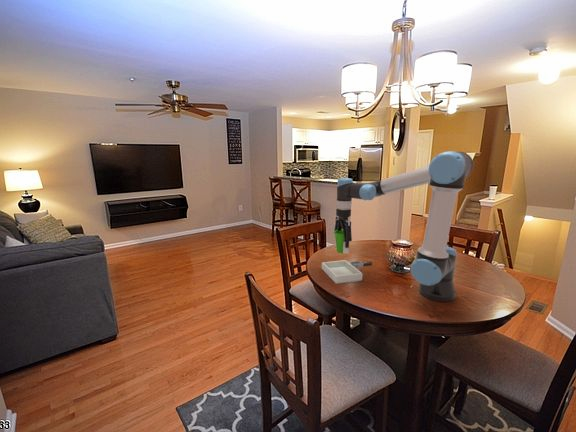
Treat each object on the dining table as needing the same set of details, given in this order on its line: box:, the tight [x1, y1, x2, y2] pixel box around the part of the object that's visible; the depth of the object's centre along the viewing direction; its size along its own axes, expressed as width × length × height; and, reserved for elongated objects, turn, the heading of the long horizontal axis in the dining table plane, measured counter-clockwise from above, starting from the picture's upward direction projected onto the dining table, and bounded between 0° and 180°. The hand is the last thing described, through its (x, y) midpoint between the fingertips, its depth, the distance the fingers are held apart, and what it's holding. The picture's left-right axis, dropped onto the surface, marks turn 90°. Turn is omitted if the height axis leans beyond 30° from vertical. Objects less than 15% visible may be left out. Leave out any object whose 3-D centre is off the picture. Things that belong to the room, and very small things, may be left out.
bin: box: [321, 259, 364, 285], centre depth 153 cm, size 20×15×4 cm
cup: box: [333, 229, 344, 254], centre depth 150 cm, size 9×9×11 cm
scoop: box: [349, 260, 373, 269], centre depth 166 cm, size 12×5×2 cm, turn 105°
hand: (341, 250), depth 151 cm, fingers closed on cup, 9 cm apart
